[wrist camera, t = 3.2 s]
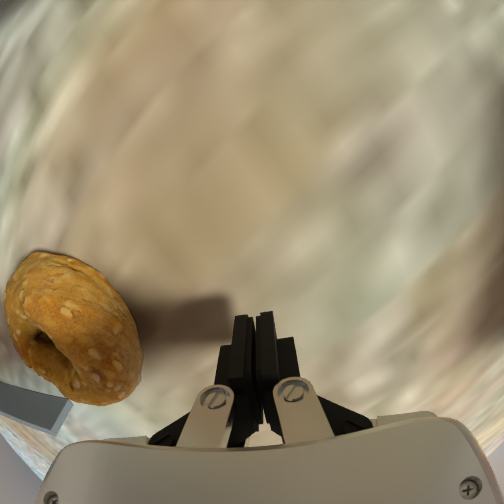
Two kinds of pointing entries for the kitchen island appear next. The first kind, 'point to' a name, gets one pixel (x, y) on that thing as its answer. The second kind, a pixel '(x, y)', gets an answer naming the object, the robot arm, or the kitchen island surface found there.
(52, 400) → the box
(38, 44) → the kitchen island surface
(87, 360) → the bagel
